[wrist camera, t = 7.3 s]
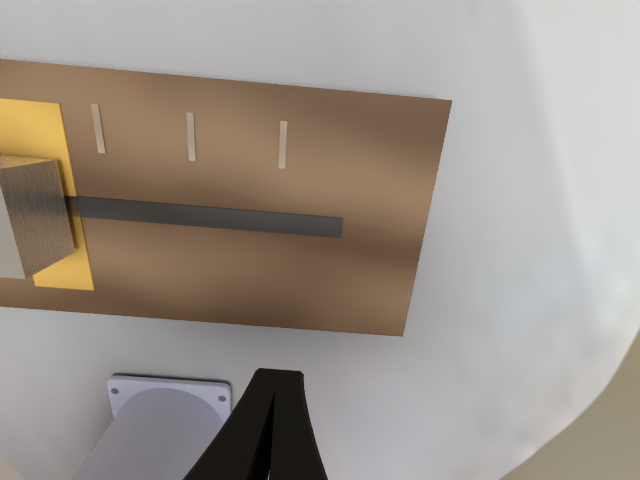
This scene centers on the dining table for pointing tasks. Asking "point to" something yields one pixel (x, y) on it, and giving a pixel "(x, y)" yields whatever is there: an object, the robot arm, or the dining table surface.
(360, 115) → the fader console
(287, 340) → the dining table surface
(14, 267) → the fader knob
